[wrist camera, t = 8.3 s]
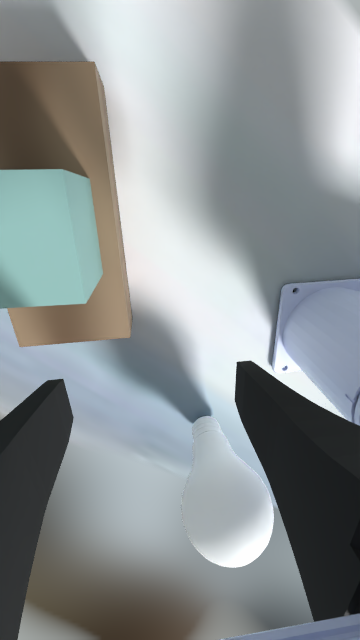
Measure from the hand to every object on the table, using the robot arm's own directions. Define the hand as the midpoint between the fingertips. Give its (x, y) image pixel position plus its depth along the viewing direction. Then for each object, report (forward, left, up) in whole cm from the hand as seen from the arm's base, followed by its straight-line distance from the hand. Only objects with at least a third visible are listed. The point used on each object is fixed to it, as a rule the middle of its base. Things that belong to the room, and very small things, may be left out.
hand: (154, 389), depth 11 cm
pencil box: (+5, -6, -10) cm, 13 cm away
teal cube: (+5, -6, -7) cm, 10 cm away
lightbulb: (-4, +12, -10) cm, 16 cm away
